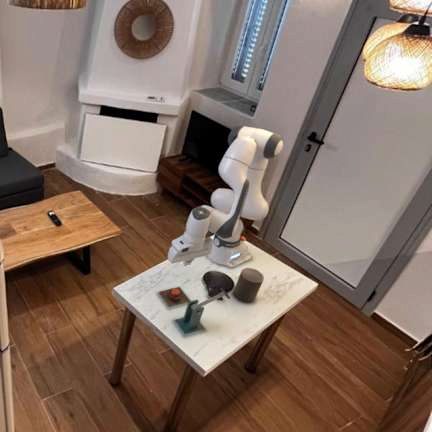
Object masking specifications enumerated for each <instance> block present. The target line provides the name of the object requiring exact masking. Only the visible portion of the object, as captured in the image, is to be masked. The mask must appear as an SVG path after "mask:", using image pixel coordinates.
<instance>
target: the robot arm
mask: <svg viewBox="0 0 432 432" xmlns="http://www.w3.org/2000/svg"><path fill="white" fill-rule="evenodd" d="M284 142H285V141H284V138H283V136H282V135H281V134H278V133H276V132H271V131H269V130H267V129H262V128H258V127H253V126H252V127H251V126H247V125H241V124H240V125H236V126H234V127H233V128H232V129H231V130H230V132H229V135H228V137H227V143H228V146H229V147H228V148H227V150H226V151H225V153H224V154H223V157H222V159H220V160H221V161H220V163H219V165H218V174H219V176H220V178H221V179H222V180H223V181H224V183H225V184H227V185H228V186H229V187H230V188H221V187H219V188H217V189H215V190H214V191H213V192H212V194H211V197H210V204H211V206H209V205H206V204H202V205H199V206H196V207H195V208H193V209H192V210H191V212H190V214H189V216H188V218H187V220H186V224H185V231H184V232H183V234H181V236H179V237H177V238H175V239H173V240H172V241H171V246H170V247H169V250H168V252H167V260H168V261H169V262H170V263H171V264H172V265H173V264H178V263H181V262H182V264H183V266H184V267H187V266H191V264H192V263H193V261H194V260H195V259H198V258H203V257H205V256H207V257H208V259H209V260H210V261H212V262H214V263H216V264H218V265H222V266H226V267H228V268H231V269H233V268H235V267H237V266H239V265H241V264H243V263H245V262H248V261H250V260H251V259H252V256H251V253H250V252H249V248H248V246H247V244H246V243H245V242H246V241H247V239H246V237H245V236H242V233H243V230H244V223H243V222H242V219H241V218H244V219H246V220H247V219H248V220H252V221H262V220H264V219H265V218H266V217H267V215H268V214H269V211H270V206H269V204H268V202H267V200H266V199H265V198H264V195H263V194H262V182H263V178H264V175H265V173H266V170H267V167H268V164H269V160H270V159H274V158H275V157H278V155H279V154H280V152H281V151H282V150H283V148H284ZM208 232H210V233H212V234H214V236H213V237H210V236H209V237H206V235H207V234H208Z"/></svg>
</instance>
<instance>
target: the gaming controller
mask: <svg viewBox="0 0 432 432" xmlns="http://www.w3.org/2000/svg"><path fill="white" fill-rule="evenodd" d="M206 287H207V291H208V296H209V297H210V298H212V297H214V296H216V295H218V294H220V288H222V286H221V285H219V284H217V283H210V284H208V285H207V286H206ZM216 301H221V302H222V301H224V298H223V296H222V297H220V298H218V299H216Z"/></svg>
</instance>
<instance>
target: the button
mask: <svg viewBox="0 0 432 432" xmlns="http://www.w3.org/2000/svg"><path fill="white" fill-rule="evenodd" d="M171 289H172V288H171ZM179 293H180V291H179V290H178V289H172V291H171V295H172V296H174V297H178V296H179Z"/></svg>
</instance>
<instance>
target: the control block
mask: <svg viewBox="0 0 432 432" xmlns="http://www.w3.org/2000/svg"><path fill="white" fill-rule="evenodd" d="M172 289H178V290H179V291H180V293H179V296H178V297H174V296H172V295H171V291H172ZM158 294H159V295H160V296H161V298H162V299H163V301H164V302H165V304H166V305H167V306H168V307H173V306H178V305H181V304H186V303H188V302H190V301H191V300H190V298H189V297H188V295H186V293H185V292H184V291H183V289H182V288H181V287H180V286H177V287H173V288H169V289H165V290H162V291H158Z"/></svg>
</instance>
